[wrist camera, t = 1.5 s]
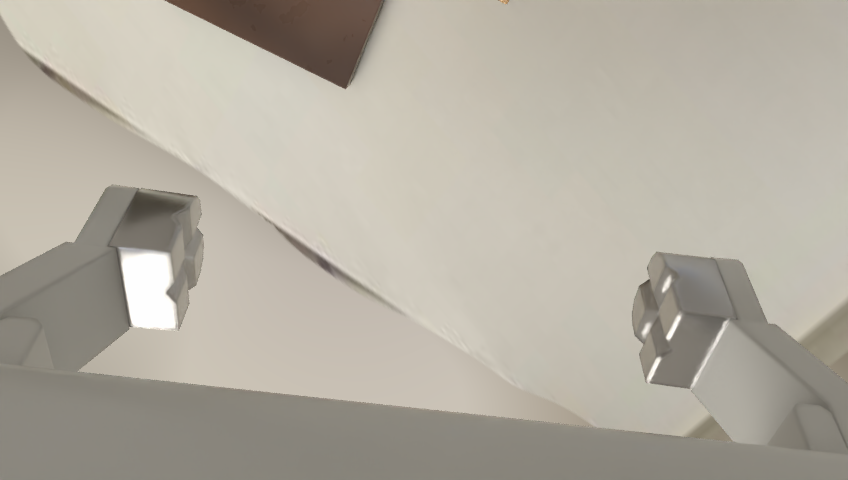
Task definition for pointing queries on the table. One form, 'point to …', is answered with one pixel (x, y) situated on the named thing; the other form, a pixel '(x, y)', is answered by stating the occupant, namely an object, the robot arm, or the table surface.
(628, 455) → the robot arm
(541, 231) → the table surface
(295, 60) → the board
